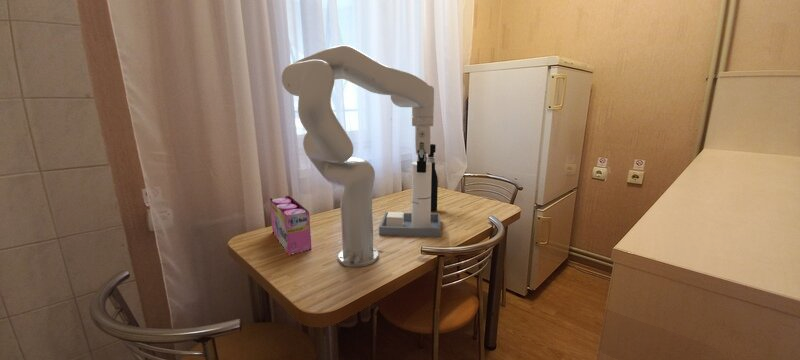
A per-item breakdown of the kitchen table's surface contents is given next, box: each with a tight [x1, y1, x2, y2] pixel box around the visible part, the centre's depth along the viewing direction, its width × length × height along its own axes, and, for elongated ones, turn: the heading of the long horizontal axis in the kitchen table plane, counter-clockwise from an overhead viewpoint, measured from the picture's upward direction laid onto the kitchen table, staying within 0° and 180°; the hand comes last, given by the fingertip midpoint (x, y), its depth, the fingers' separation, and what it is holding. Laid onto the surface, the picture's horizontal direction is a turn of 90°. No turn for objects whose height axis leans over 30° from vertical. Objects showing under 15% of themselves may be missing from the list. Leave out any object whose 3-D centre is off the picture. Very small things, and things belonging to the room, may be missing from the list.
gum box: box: [268, 195, 312, 255], centre depth 112 cm, size 24×8×14 cm, turn 34°
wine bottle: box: [427, 143, 439, 213], centre depth 139 cm, size 6×6×30 cm
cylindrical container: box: [411, 161, 432, 228], centre depth 118 cm, size 7×7×25 cm
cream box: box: [386, 211, 405, 227], centre depth 122 cm, size 6×6×5 cm
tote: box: [378, 211, 442, 238], centre depth 122 cm, size 16×22×4 cm
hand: (421, 169), depth 116 cm, fingers open, 9 cm apart
